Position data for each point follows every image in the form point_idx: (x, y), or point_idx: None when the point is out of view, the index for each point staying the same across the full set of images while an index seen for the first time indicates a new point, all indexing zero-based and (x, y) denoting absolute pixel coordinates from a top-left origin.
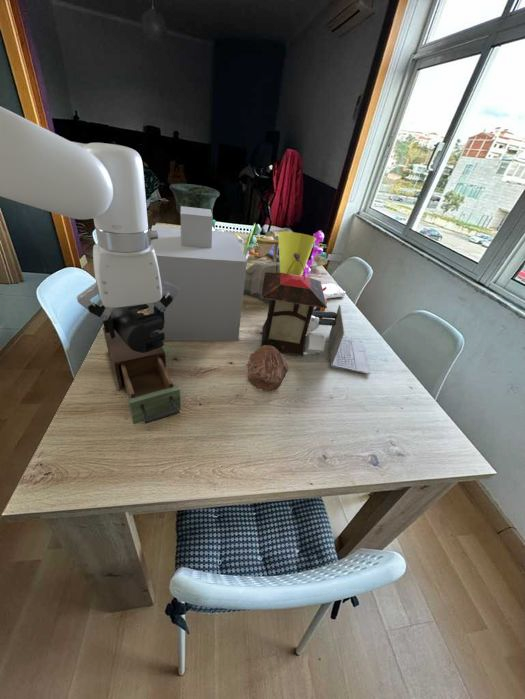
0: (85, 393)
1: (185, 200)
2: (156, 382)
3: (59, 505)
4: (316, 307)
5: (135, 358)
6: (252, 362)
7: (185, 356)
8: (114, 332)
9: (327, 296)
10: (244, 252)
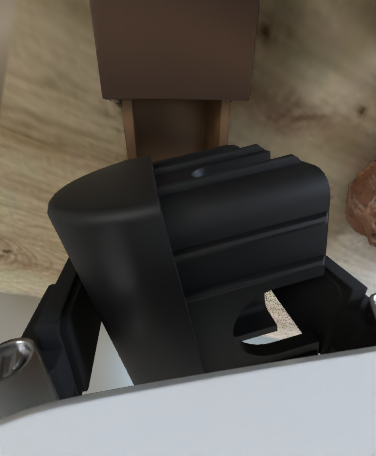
0: (37, 81)
1: None
2: (194, 131)
3: (34, 294)
4: None
5: (164, 98)
6: None
7: (292, 31)
8: (99, 328)
9: None
10: None
